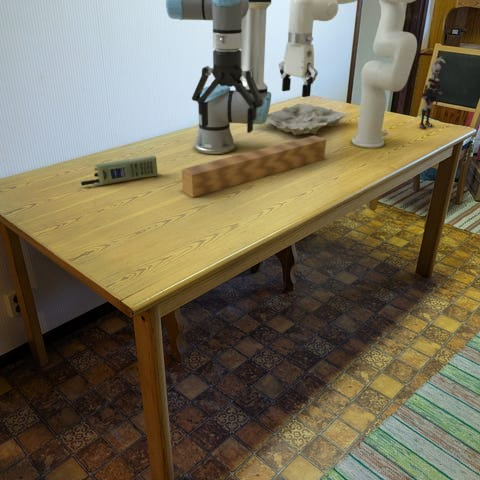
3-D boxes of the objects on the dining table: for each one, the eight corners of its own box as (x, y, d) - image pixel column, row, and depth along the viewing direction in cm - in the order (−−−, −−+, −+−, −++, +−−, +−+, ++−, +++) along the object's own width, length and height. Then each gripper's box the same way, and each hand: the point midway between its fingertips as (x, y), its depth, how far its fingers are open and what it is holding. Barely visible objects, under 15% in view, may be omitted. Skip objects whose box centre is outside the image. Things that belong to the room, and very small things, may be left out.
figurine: (421, 131, 217) (435, 58, 202) (409, 128, 221) (422, 56, 206) (438, 124, 226) (453, 54, 211) (426, 121, 230) (440, 52, 215)
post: (312, 154, 191) (314, 135, 187) (324, 159, 187) (326, 139, 183) (182, 191, 160) (181, 169, 156) (192, 197, 156) (191, 175, 152)
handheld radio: (158, 176, 170) (83, 189, 160) (155, 173, 172) (80, 186, 162) (156, 157, 167) (79, 169, 157) (153, 154, 169) (77, 166, 159)
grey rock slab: (245, 130, 217) (303, 143, 199) (245, 116, 214) (304, 128, 197) (296, 115, 242) (351, 125, 225) (297, 102, 239) (353, 111, 222)
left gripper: (178, 48, 133) (181, 127, 144) (268, 55, 126) (265, 137, 137) (189, 44, 140) (192, 120, 150) (276, 50, 132) (273, 129, 143)
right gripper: (328, 41, 156) (322, 97, 165) (290, 34, 168) (286, 87, 177) (310, 43, 152) (305, 100, 161) (273, 36, 164) (270, 90, 172)
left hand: (227, 128), depth 143 cm, fingers open, 13 cm apart
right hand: (295, 93), depth 169 cm, fingers open, 9 cm apart
